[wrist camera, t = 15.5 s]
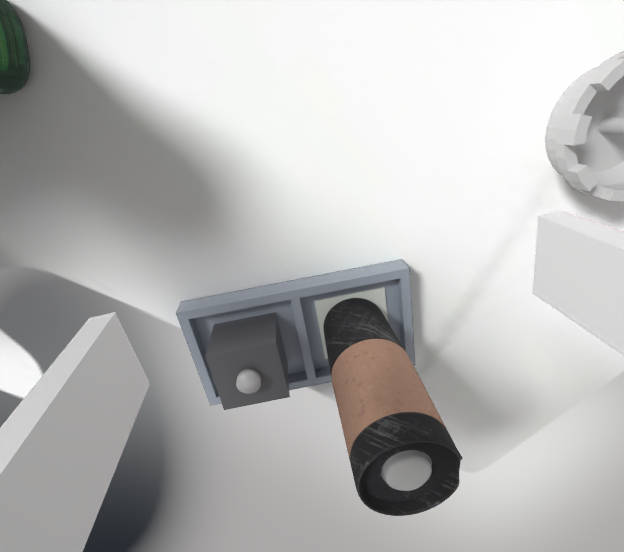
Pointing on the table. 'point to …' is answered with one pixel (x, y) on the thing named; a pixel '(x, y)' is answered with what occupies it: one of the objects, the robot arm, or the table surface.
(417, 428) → the travel mug
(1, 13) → the coffee jar
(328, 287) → the dock
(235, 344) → the seated block
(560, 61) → the table surface
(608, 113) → the flag stand
